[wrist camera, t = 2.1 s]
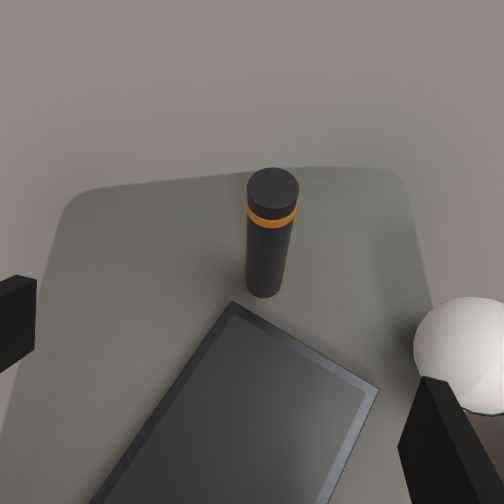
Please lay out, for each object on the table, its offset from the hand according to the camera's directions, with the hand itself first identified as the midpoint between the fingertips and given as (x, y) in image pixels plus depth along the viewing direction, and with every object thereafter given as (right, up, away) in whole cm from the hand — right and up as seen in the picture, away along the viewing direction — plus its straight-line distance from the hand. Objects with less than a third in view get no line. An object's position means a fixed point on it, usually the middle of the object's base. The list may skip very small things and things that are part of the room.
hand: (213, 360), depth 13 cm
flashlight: (+2, +1, +19) cm, 19 cm away
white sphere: (+17, -5, +16) cm, 24 cm away
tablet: (0, -10, +12) cm, 16 cm away
